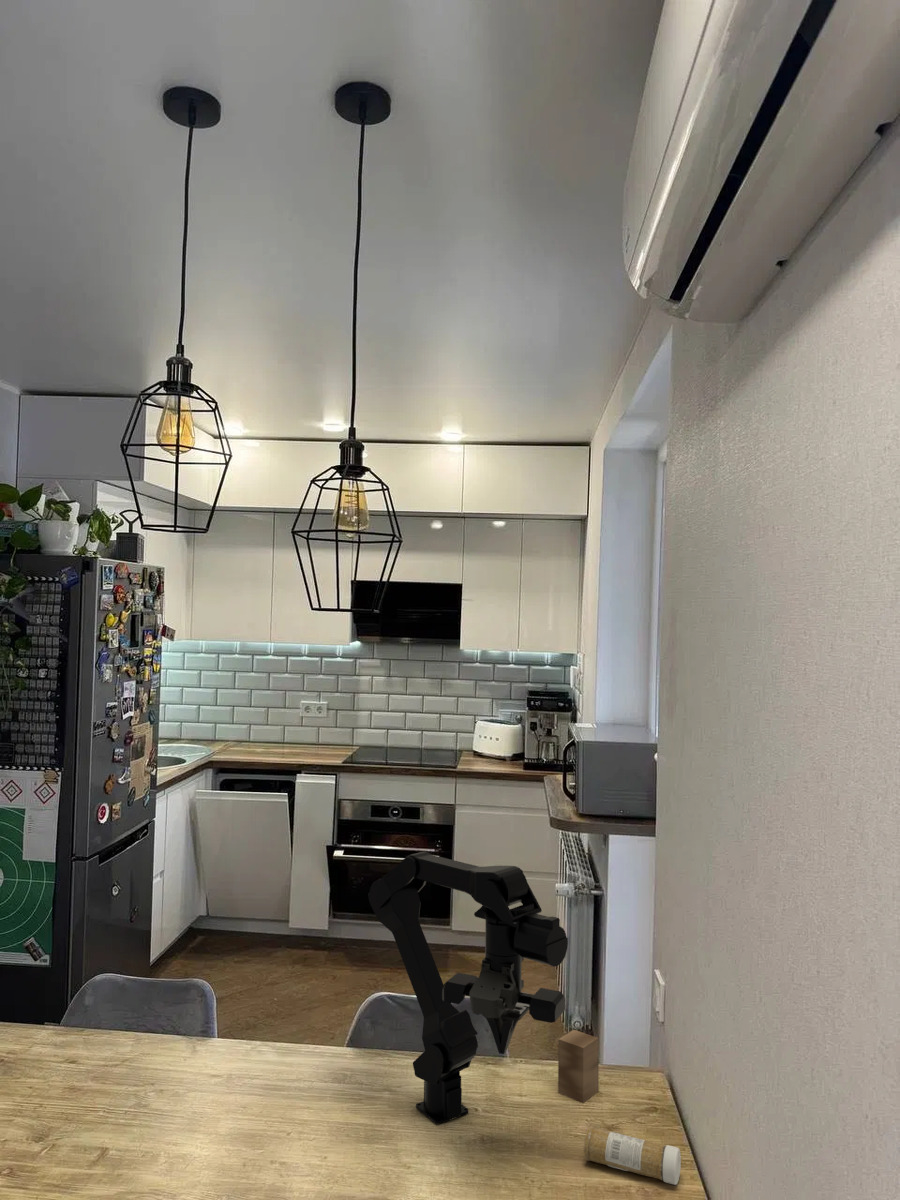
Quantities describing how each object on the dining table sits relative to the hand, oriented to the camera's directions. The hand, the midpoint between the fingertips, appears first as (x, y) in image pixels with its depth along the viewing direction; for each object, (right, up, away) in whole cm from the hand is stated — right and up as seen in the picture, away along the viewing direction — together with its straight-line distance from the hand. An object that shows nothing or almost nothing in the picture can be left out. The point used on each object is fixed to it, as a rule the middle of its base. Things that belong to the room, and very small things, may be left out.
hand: (502, 1052), depth 132 cm
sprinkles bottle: (+12, -11, -5) cm, 17 cm away
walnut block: (+14, -14, +14) cm, 24 cm away
